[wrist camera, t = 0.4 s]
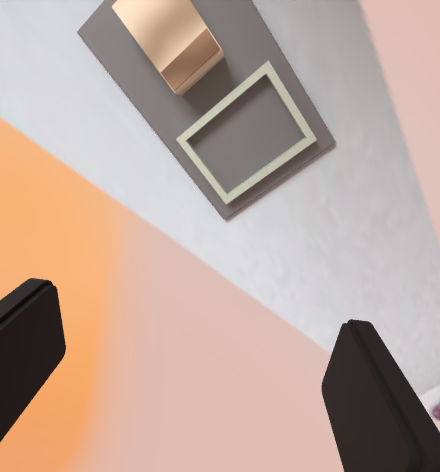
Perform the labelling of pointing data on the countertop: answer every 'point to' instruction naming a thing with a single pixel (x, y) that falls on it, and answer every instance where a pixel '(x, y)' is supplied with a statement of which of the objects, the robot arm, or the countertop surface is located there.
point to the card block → (172, 39)
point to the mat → (216, 99)
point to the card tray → (231, 97)
